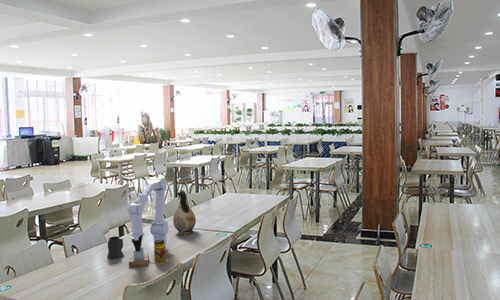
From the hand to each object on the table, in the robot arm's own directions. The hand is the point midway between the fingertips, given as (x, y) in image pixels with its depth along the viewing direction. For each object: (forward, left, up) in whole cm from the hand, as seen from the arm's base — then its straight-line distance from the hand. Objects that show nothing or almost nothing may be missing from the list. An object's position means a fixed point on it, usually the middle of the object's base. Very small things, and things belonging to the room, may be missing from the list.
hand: (138, 249), depth 227 cm
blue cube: (0, 0, -5) cm, 5 cm away
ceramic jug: (-51, +27, -8) cm, 58 cm away
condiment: (+1, +11, -8) cm, 14 cm away
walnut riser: (0, 0, -8) cm, 8 cm away
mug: (-16, -14, -8) cm, 23 cm away
